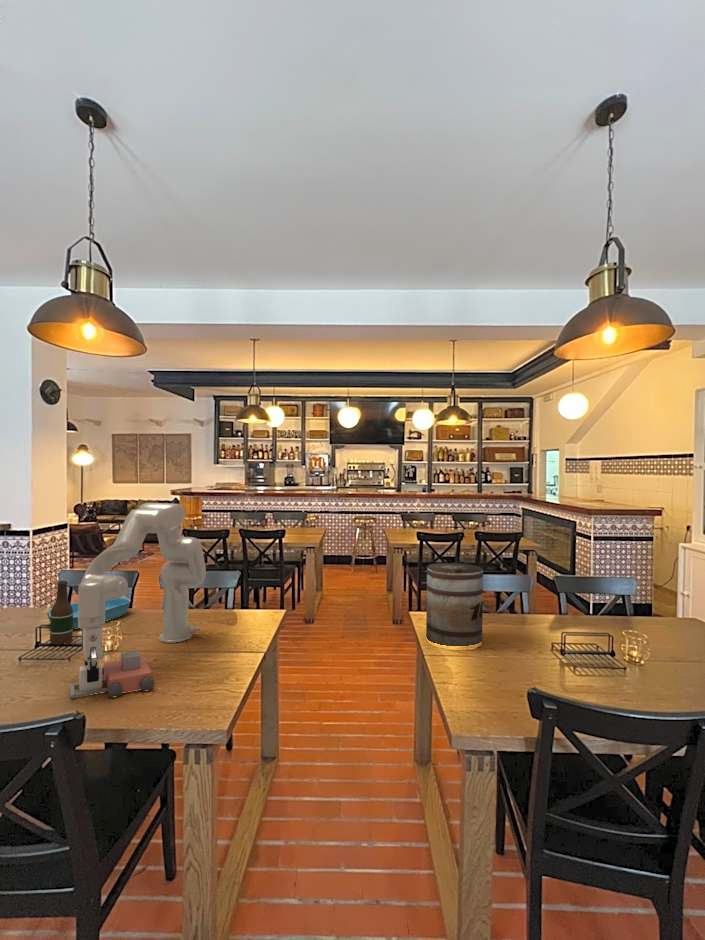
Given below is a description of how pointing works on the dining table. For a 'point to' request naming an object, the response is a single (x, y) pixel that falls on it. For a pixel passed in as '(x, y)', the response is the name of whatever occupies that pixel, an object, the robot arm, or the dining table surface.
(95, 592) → the robot arm
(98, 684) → the stepped cream block
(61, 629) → the beer bottle
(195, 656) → the dining table surface
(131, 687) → the pink toy truck
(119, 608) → the casserole dish
